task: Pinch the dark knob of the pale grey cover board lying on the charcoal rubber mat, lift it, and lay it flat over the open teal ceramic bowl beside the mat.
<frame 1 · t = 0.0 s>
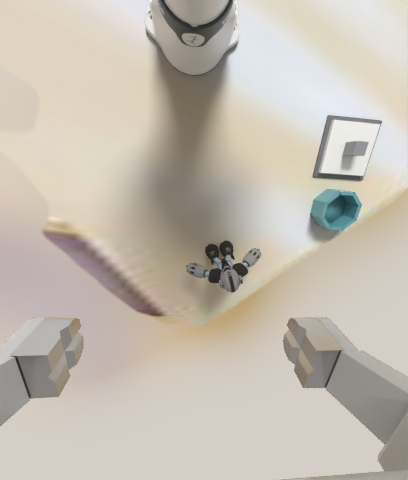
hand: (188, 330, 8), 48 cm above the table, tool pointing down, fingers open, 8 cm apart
mat: (345, 149, 52), on the table
cover sheet: (346, 149, 52), resting on mat
bowl: (328, 207, 58), on the table
robot: (218, 249, 60), on the table
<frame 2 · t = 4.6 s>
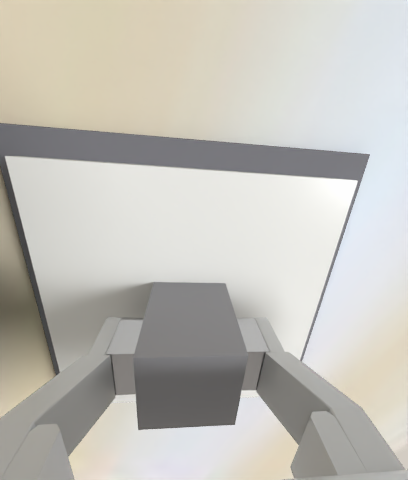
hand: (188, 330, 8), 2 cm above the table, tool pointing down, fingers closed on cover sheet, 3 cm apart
mat: (188, 292, 10), on the table
cover sheet: (188, 297, 10), resting on mat, touching gripper
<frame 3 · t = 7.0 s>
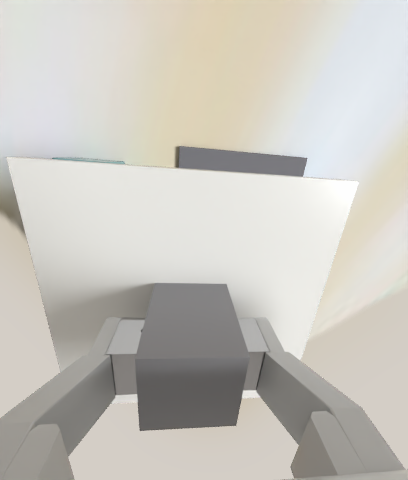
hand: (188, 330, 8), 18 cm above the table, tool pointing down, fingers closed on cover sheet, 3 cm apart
mat: (235, 214, 25), on the table
cover sheet: (189, 298, 10), point 16 cm above the table, touching gripper
when the fingers open (9 cm above the table, at t = 9.4 s): cover sheet drops 2 cm, resting on bowl.
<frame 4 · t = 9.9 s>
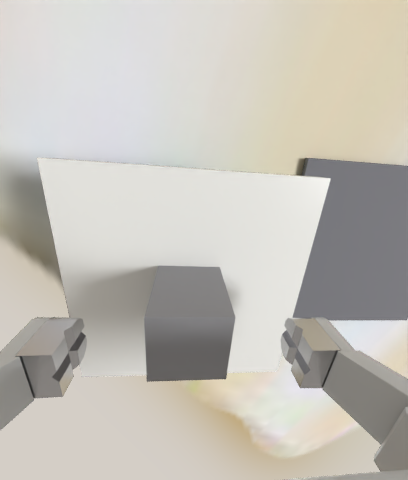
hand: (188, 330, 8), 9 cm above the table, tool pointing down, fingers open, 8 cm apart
mat: (362, 252, 18), on the table
cover sheet: (188, 281, 11), point 5 cm above the table, touching bowl
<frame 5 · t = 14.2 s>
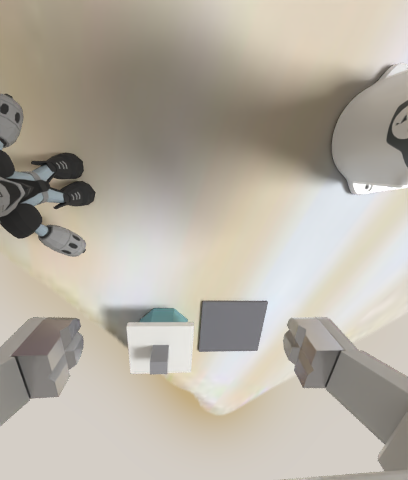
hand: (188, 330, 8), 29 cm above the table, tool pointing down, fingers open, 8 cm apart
mat: (231, 326, 46), on the table
cover sheet: (161, 346, 40), point 5 cm above the table, touching bowl
bowl: (164, 326, 45), on the table, touching cover sheet
robot: (75, 180, 33), on the table
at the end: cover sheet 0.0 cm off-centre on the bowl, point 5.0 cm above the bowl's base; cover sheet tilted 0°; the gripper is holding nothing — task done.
